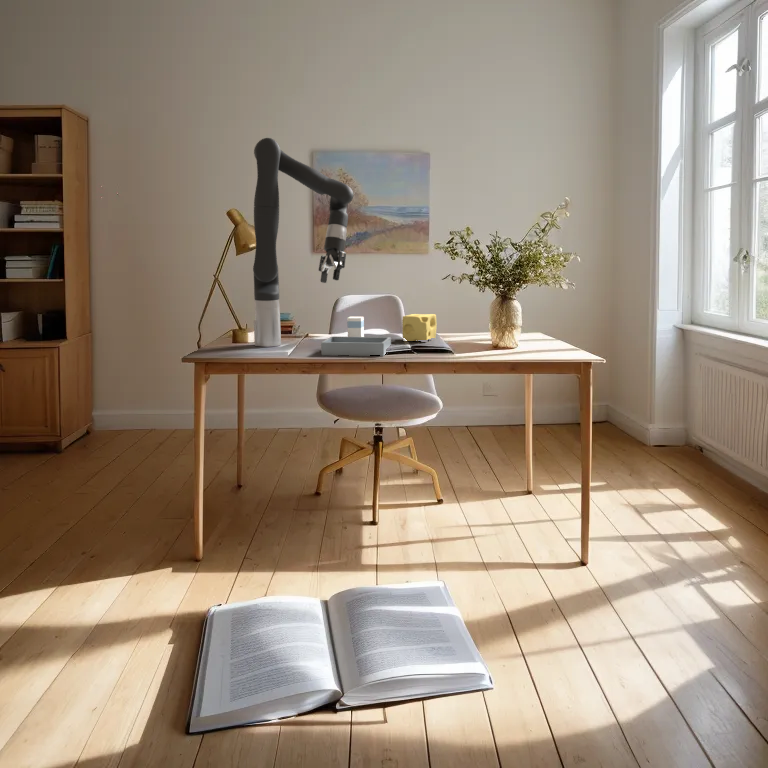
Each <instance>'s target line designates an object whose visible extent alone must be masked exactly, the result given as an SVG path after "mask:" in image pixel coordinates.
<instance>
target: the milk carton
mask: <svg viewBox="0 0 768 768" xmlns="http://www.w3.org/2000/svg"><path fill="white" fill-rule="evenodd" d="M346 321H347V322H346V324H347V337H365V331H364V329H365V322H364V321H365V317H364V316H349V317H347V320H346Z"/></svg>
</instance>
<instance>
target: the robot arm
mask: <svg viewBox="0 0 768 768" xmlns="http://www.w3.org/2000/svg"><path fill="white" fill-rule="evenodd" d="M253 155H254V158H255V159H256V168H257V169H256V170H257V175H256V176H257V177H256V178H257V180H256V186H255V193H254V200H253V225H254V226H253V227H254V234H255V235H254V236H255V254H254V261H253V262H254V263H253V265H252V266H253V267H252V271H253V289H254V293H253V294H254V296H253V297H254V312H255V313H254V314H255V317H254V318H255V319H254V320H253V336H254V337H253V338H254V346H256V347H264V348H265V347H268V348H269V347H278V346H282V338H281V337H282V334H281V305H280V278H279V265H278V257H277V239H278V234H279V226H280V225H279V223H280V221H279V220H280V193H279V190H280V189H279V172H282V173H284V174H285V175H287V176H289V177H290V178H293V179H294V180H295V181H297V182H299V183H300V184H302V185H303V186H305V187H307V188H308V189H309V190H312V191H313V192H315V193H317V194H319V195H326V196H328V197H330V199H329V217H328V224H327V228H326V232H325V233H326V234H325V240H324V247H323V250H324V251H325V255H320V259H319V265H318V271H319V272H321V276H320V282H321V283H322V284H327V282H328V281H327V280H328V273H329V271H330V270H331V269H332V267H333V274H332V280H334V281H339V280H340V274H341V271H342V269H345V267H346V257H347V252H346V251H345V248H346V241H347V234H348V233H347V230H348V229H347V228H348V224H349V223H348V221H349V214H348V213H347V210H348V204H350V203H351V202H352V201H353V199H354V191H353V190H352V188H351V187H350V186H349V185H347V184H346V183H344V182H342V181H339V180H336V179H334V178H330V177H328V176H327V175H326V174H324V173H322V172H320V171H319V170H317V169H315V168H313V167H311V166H309V165H308V164H305V163H302V162H300V161H298V160H296V159H295V158H293V157H291V156H290V155H288V154H287V153H285V151H283V150H282V149H281V146H280V145H279V143H278V142H277V141H276V140H275V139H273V138H271V137H265V138H262V139H260V140H259V141H257V143H256V144H255V146H254V149H253Z"/></svg>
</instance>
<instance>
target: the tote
mask: <svg viewBox="0 0 768 768" xmlns="http://www.w3.org/2000/svg"><path fill="white" fill-rule="evenodd" d="M391 339H392V337H391V336H364V337H348V336H330V337H328V338H326V339H325V340H322V341H321V343H320V344H321V345H320V346H321V349H320V350H321V356H338V355H349V356H348V357H351V356H352V357H354V356H355V357H356V356H358V357H371V356H370V355H380V356H379V357H385V356H386V355H387V354H386V349H387V348H388V347H389V346H390V345H391V346H392V340H391ZM385 354H386V355H385ZM384 355H385V356H384Z"/></svg>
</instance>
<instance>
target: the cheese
mask: <svg viewBox="0 0 768 768" xmlns="http://www.w3.org/2000/svg"><path fill="white" fill-rule="evenodd" d="M401 321H402V322H401V324H402V330H401V331H402V339H403V338H405V339H406V340H407V341H416V340H417V341H418V340H428V339H431V338H435V339H436V336H437V328H438V327H437V326H438V325H437V314H435V313H429V314H427V313H424V314H421V313H412V314H407V315H404V316H402V320H401ZM407 341H406V342H407Z"/></svg>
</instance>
